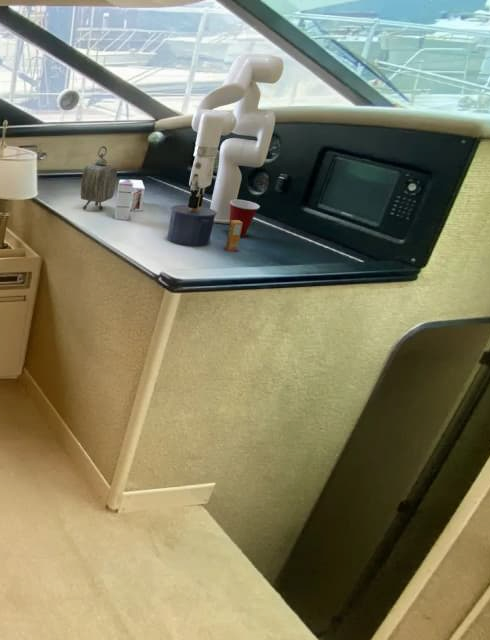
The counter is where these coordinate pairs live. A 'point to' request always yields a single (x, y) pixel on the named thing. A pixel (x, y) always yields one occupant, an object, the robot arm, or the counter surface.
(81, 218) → the counter surface
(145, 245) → the counter surface
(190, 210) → the lid
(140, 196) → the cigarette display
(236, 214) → the plastic cup
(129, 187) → the syrup box
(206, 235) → the pot
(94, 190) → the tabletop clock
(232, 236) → the supplement box
